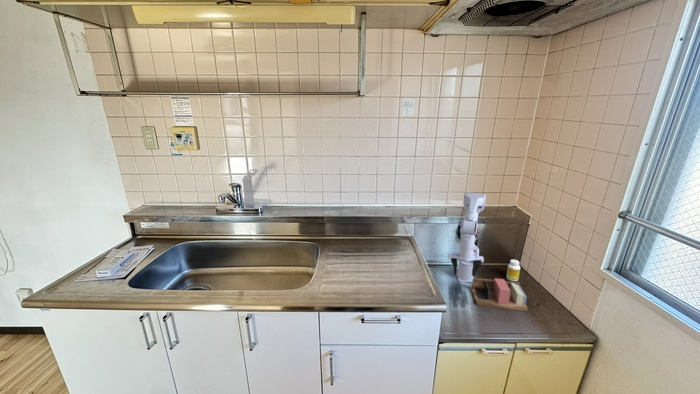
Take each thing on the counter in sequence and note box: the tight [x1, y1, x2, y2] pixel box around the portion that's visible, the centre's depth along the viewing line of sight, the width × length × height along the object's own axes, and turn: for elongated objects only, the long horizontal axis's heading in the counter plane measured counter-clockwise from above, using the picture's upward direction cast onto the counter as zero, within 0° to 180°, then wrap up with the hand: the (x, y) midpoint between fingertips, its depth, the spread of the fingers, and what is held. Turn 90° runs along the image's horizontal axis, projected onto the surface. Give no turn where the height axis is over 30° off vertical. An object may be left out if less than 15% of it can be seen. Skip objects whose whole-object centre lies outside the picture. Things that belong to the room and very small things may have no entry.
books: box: [510, 283, 527, 305], centre depth 124 cm, size 9×4×5 cm, turn 168°
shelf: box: [471, 277, 529, 312], centre depth 125 cm, size 12×20×6 cm, turn 78°
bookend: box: [475, 280, 490, 300], centre depth 128 cm, size 8×4×5 cm, turn 168°
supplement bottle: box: [506, 259, 521, 282], centre depth 141 cm, size 5×5×10 cm
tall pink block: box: [493, 277, 511, 305], centre depth 124 cm, size 9×4×7 cm, turn 168°
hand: (464, 274), depth 127 cm, fingers open, 7 cm apart
